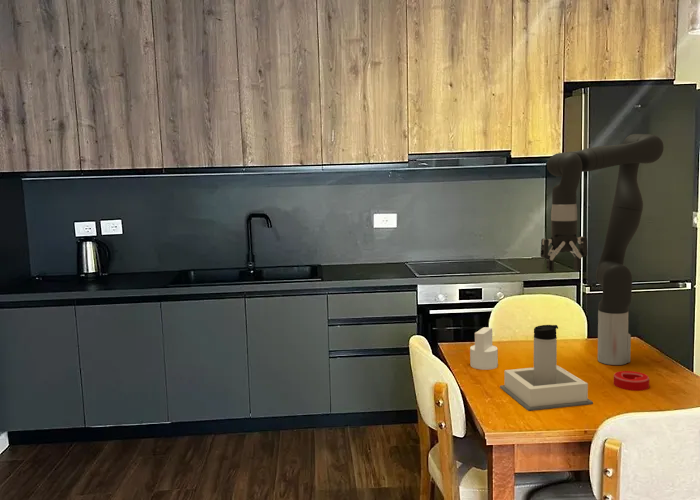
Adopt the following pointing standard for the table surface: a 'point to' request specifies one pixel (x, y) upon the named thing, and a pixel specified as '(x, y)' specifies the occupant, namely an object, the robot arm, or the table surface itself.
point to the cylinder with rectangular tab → (484, 351)
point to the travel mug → (545, 355)
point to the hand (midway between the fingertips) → (563, 271)
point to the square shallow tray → (545, 389)
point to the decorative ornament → (631, 380)
